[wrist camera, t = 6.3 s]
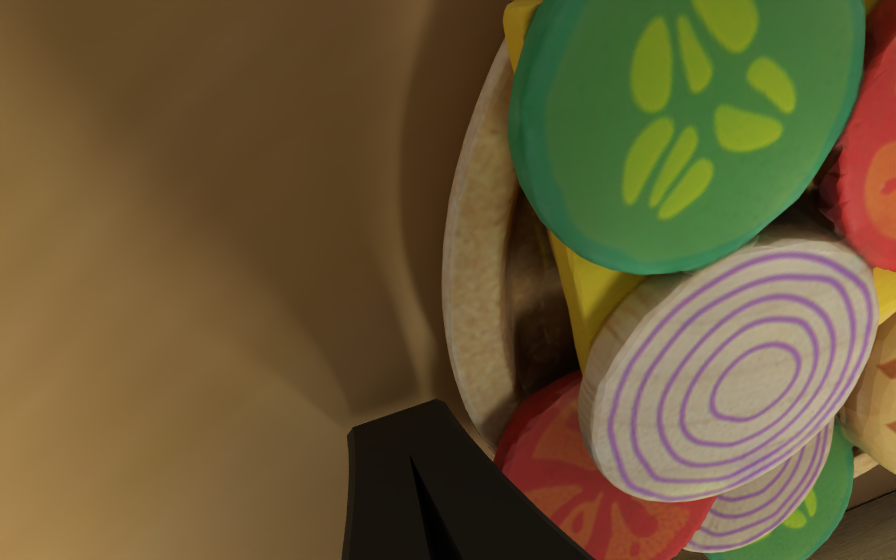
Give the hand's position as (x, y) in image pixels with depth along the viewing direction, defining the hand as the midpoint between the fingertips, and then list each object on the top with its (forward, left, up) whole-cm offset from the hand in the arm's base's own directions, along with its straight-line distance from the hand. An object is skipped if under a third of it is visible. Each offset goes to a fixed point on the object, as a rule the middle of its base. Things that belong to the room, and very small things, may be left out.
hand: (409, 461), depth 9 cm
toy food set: (+1, -7, -2) cm, 7 cm away
